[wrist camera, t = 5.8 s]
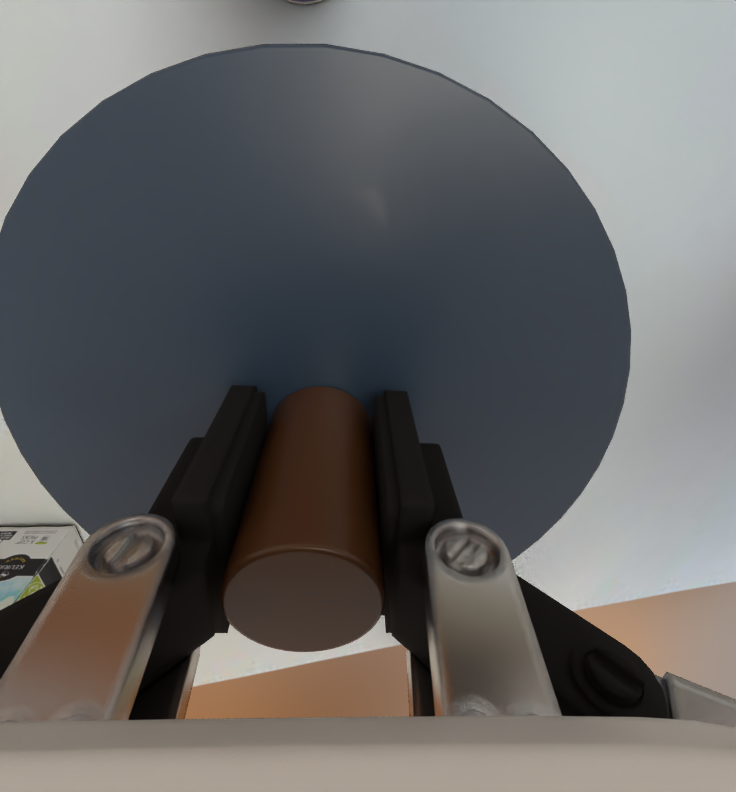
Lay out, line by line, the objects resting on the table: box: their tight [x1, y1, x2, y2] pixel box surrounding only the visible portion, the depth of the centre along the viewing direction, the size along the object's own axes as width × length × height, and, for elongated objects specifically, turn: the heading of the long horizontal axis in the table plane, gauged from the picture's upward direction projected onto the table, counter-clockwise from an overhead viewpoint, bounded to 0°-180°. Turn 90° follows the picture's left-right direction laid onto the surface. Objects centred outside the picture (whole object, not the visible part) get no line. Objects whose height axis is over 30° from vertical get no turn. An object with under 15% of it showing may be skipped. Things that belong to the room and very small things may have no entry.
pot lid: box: [0, 44, 631, 652], centre depth 9 cm, size 16×16×6 cm
